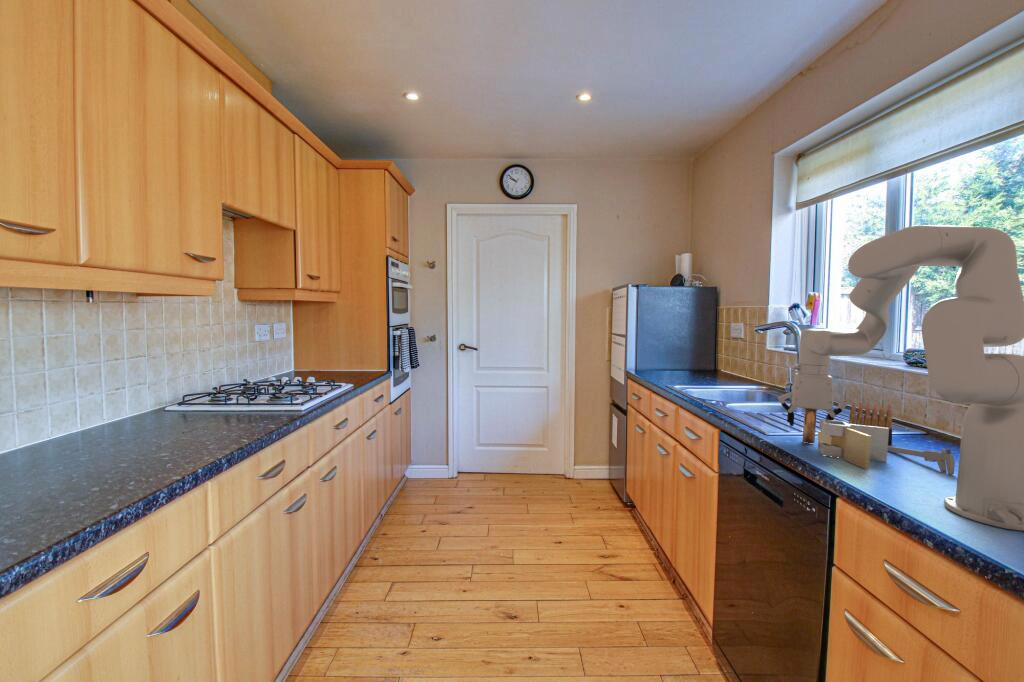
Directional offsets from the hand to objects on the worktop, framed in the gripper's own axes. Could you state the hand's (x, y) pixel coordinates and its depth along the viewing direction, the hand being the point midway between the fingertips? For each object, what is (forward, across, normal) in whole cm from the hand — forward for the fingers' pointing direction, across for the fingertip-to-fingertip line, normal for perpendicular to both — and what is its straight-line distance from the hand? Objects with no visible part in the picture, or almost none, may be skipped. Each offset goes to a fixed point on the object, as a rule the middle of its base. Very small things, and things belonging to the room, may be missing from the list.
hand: (809, 427), depth 129 cm
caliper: (+5, +23, -5) cm, 24 cm away
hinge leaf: (+4, +6, -14) cm, 16 cm away
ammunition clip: (+5, +17, +10) cm, 20 cm away
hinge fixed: (+5, +8, -10) cm, 14 cm away
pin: (+5, 0, 0) cm, 5 cm away
